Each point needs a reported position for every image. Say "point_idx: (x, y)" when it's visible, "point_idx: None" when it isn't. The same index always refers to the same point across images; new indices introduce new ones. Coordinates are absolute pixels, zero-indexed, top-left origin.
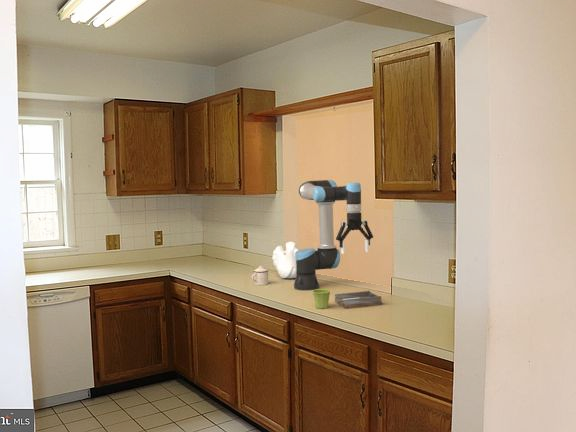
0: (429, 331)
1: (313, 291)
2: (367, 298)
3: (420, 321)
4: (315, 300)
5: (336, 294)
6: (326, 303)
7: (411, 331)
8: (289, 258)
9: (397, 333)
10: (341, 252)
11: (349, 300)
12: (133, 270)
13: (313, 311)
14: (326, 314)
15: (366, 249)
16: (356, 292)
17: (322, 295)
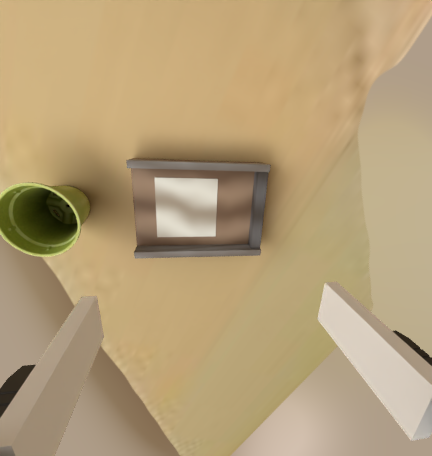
0: (227, 425)
1: (1, 201)
2: (213, 255)
3: (249, 380)
4: (28, 214)
5: (131, 166)
6: (75, 228)
7: (199, 421)
8: None
9: (171, 425)
10: (77, 306)
11: (150, 256)
12: None
13: None
14: (67, 281)
15: (333, 319)
16: (216, 168)
17: (42, 248)
